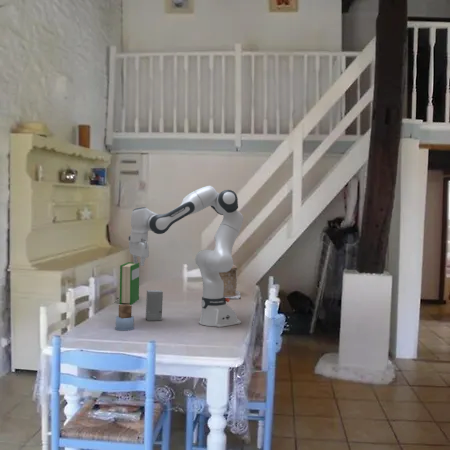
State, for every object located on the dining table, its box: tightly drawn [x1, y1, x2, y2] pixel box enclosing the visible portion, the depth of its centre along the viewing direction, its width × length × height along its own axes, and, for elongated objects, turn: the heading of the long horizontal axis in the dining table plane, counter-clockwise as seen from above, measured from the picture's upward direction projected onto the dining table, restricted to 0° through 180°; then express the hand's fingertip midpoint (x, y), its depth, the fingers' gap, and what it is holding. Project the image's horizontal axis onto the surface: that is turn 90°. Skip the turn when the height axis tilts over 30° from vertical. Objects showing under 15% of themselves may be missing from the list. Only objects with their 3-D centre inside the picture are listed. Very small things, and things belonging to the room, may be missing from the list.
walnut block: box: [118, 303, 133, 318], centre depth 274 cm, size 5×5×6 cm
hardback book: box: [119, 261, 140, 306], centre depth 343 cm, size 18×7×24 cm, turn 174°
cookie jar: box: [219, 263, 241, 300], centre depth 371 cm, size 25×25×32 cm
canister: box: [114, 315, 135, 332], centre depth 274 cm, size 9×9×6 cm
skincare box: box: [145, 289, 164, 322], centre depth 296 cm, size 8×7×16 cm
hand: (138, 264), depth 285 cm, fingers open, 8 cm apart
